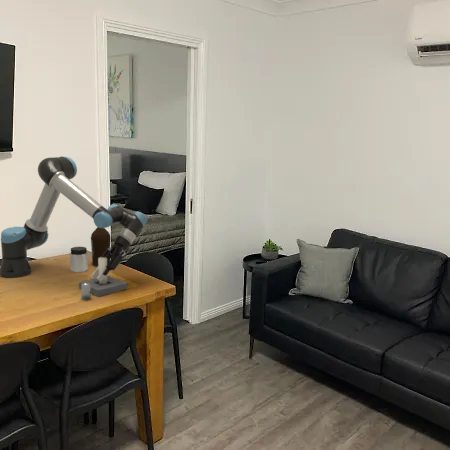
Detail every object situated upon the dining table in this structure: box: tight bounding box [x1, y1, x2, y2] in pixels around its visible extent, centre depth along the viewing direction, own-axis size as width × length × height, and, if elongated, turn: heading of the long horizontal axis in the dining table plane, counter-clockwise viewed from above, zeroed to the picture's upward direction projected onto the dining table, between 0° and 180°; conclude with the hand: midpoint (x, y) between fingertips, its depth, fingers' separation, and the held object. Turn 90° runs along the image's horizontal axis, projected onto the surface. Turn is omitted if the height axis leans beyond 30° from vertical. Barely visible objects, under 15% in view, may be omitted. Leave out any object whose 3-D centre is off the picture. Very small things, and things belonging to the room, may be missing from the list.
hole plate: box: [78, 275, 128, 298], centre depth 228 cm, size 16×16×3 cm
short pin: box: [80, 282, 92, 301], centre depth 214 cm, size 4×4×7 cm
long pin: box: [97, 257, 108, 285], centre depth 227 cm, size 4×4×14 cm
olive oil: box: [90, 226, 112, 267], centre depth 266 cm, size 11×11×25 cm
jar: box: [69, 246, 89, 273], centre depth 255 cm, size 9×8×12 cm
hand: (96, 279), depth 224 cm, fingers closed on long pin, 4 cm apart
